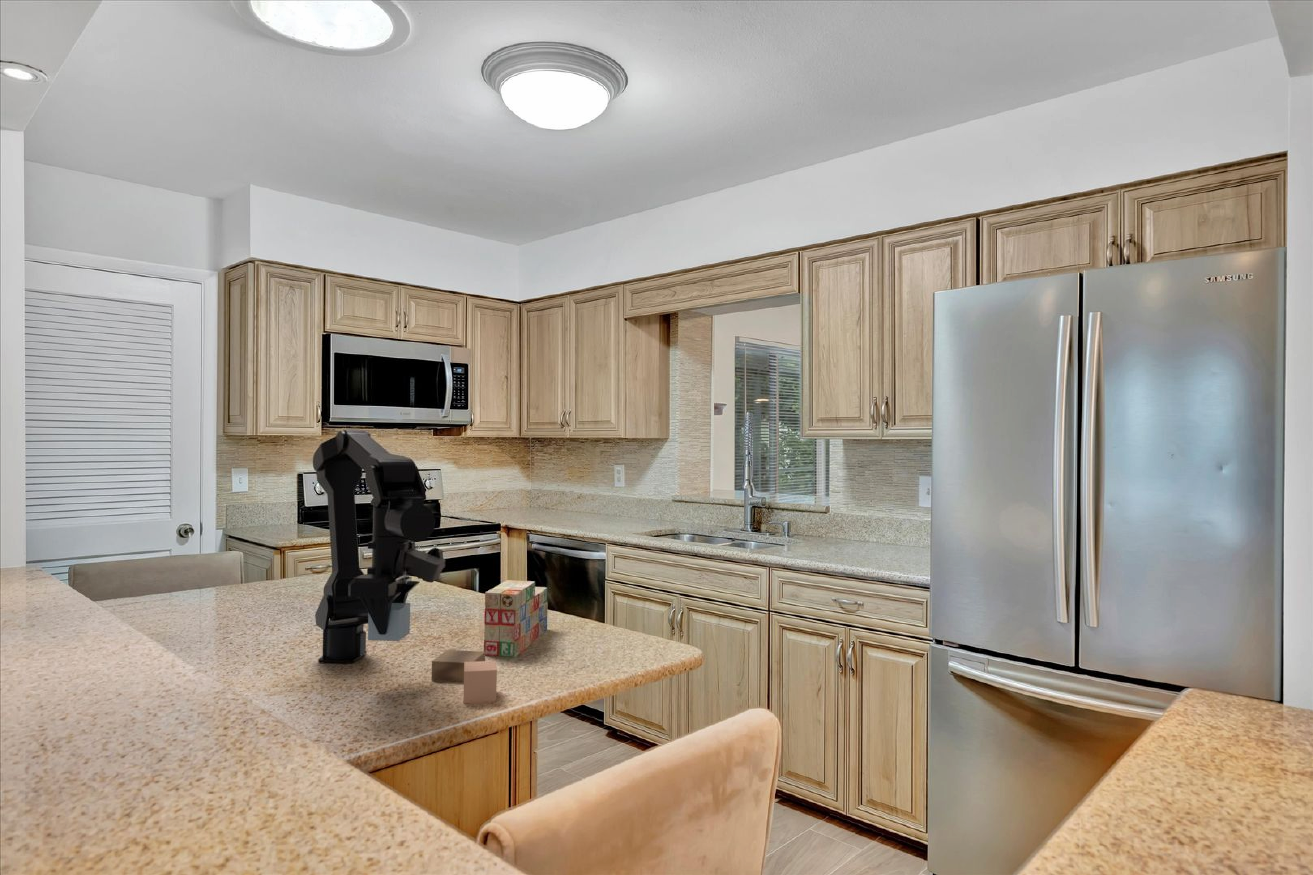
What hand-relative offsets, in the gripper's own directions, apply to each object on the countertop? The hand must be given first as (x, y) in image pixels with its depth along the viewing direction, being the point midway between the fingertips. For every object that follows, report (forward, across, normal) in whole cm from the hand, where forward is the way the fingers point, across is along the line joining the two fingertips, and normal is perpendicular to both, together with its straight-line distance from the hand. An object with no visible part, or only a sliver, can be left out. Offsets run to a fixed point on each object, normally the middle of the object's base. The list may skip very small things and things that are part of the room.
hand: (389, 630), depth 123 cm
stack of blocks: (+10, +30, -15) cm, 35 cm away
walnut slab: (+10, +8, -10) cm, 16 cm away
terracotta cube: (+10, -3, -16) cm, 19 cm away
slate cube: (+1, 0, 0) cm, 1 cm away
